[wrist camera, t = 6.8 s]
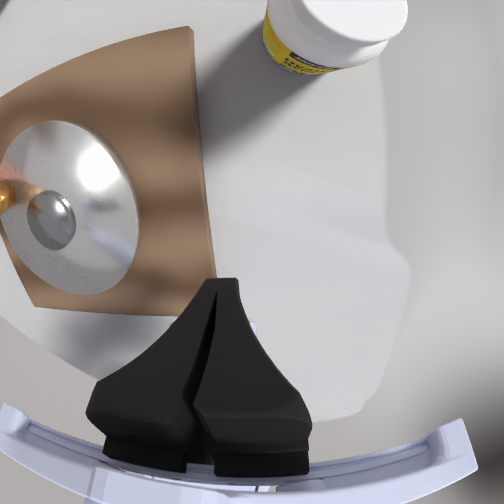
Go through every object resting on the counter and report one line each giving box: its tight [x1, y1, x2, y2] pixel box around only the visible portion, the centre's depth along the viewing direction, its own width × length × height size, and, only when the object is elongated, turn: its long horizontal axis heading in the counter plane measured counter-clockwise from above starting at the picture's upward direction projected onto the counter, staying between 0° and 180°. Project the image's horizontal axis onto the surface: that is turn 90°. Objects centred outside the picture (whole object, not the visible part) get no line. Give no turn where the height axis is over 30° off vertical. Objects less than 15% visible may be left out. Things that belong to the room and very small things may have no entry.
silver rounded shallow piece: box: [0, 119, 142, 295], centre depth 15 cm, size 17×14×4 cm
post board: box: [0, 26, 217, 316], centre depth 17 cm, size 22×22×6 cm
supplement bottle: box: [262, 0, 408, 75], centre depth 9 cm, size 5×5×10 cm
